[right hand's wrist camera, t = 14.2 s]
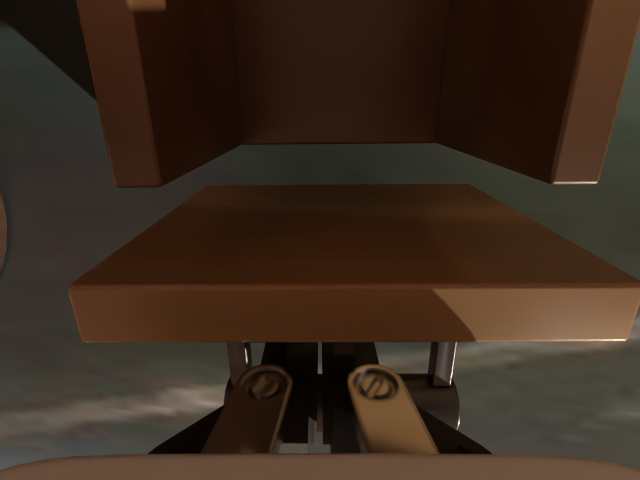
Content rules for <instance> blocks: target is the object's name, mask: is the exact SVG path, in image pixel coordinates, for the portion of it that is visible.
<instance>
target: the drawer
mask: <svg viewBox="0 0 640 480" xmlns="http://www.w3.org/2000/svg"><path fill="white" fill-rule="evenodd" d="M76 3H77V8H78V12H79V17H80V22H81V27H82V32H83V36H84V41H85V46H86V51H87V55H88V60H89V65H90V70H91V74H92V79H93V84H94V89H95V94H96V98H97V103H98V108H99V113H100V117H101V122H102V127H103V132H104V137H105V141H106V146H107V151H108V156H109V160H110V165H111V170H112V175H113V180H114V184H115V185H116V186H117V187H120V188H144V187H161V186H163V185H165V184H167V183H169V182H171V181H173V180H174V179H176V178H178V177H180V176H182V175H184V174H186V173H188V172H190V171H192V170H194V169H196V168H198V167H200V166H201V165H203V164H205V163H207V162H209V161H211V160H213V159H215V158H217V157H219V156H221V155H223V154H225V153H227V152H228V151H230V150H232V149H234V148H236V147H238V146H240V145H265V144H378V143H438V144H441V145H444V146H446V147H449V148H452V149H455V150H457V151H460V152H463V153H466V154H469V155H471V156H474V157H477V158H480V159H482V160H485V161H488V162H491V163H493V164H496V165H499V166H502V167H505V168H507V169H510V170H513V171H516V172H518V173H521V174H524V175H527V176H529V177H532V178H535V179H538V180H541V181H543V182H546V183H549V184H552V185H566V184H596V183H598V181H599V179H600V175H601V171H602V167H603V163H604V160H605V156H606V152H607V148H608V144H609V140H610V137H611V133H612V129H613V125H614V121H615V117H616V114H617V110H618V106H619V102H620V98H621V94H622V91H623V87H624V83H625V79H626V75H627V71H628V68H629V64H630V60H631V56H632V52H633V48H634V45H635V41H636V37H637V33H638V29H639V25H640V0H76ZM68 294H69V297H70V301H71V304H72V308H73V311H74V315H75V318H76V322H77V325H78V329H79V332H80V336H81V339H82V341H83V342H86V343H174V342H227V349H228V357H229V366H230V374H231V376H230V378H229V380H228V383H227V386H226V391H225V397H224V405H225V404H226V402H227V400H228V398H229V396H230V394H231V392H232V390H233V388H234V386H235V384H236V382H237V380H238V379H239V377H240V376H241V375H242V374H243V373H244V372H245V371H247V370H248V369H250V368H252V359H251V349H250V342H431V351H430V359H429V368H428V374H398V375H399V376H400V377H401V379H402V380H403V382H404V384H405V386H406V388H407V390H408V392H409V394H410V396H411V398H412V400H413V402H414V404H415V405H417V406H419V407H420V408H422V409H423V410H425V411H427V412H428V413H430V414H431V415H433V416H435V417H436V418H438V419H439V420H441V421H443V422H444V423H446V424H447V425H449V426H451V427H452V428H454V429H456V430H457V429H458V426H459V422H460V404H459V397H458V393H457V389H456V386H455V383H454V381H453V379H452V372H453V365H454V358H455V352H456V345H457V342H592V341H626V340H627V339H628V338H629V335H630V332H631V329H632V326H633V323H634V320H635V317H636V314H637V311H638V308H639V306H640V280H638V279H636V278H634V277H633V276H631V275H629V274H627V273H625V272H624V271H622V270H620V269H618V268H617V267H615V266H613V265H611V264H609V263H608V262H606V261H604V260H602V259H601V258H599V257H597V256H595V255H594V254H592V253H590V252H588V251H586V250H585V249H583V248H581V247H579V246H578V245H576V244H574V243H572V242H570V241H569V240H567V239H565V238H563V237H562V236H560V235H558V234H556V233H555V232H553V231H551V230H549V229H547V228H546V227H544V226H542V225H540V224H539V223H537V222H535V221H533V220H532V219H530V218H528V217H526V216H524V215H523V214H521V213H519V212H517V211H516V210H514V209H512V208H510V207H508V206H507V205H505V204H503V203H501V202H500V201H498V200H496V199H494V198H493V197H491V196H489V195H487V194H485V193H484V192H482V191H480V190H478V189H477V188H475V187H473V186H471V185H469V184H384V185H252V186H206V187H205V188H204V189H202V190H201V191H199V192H198V193H197V194H195V195H194V196H192V197H191V198H190V199H188V200H187V201H185V202H184V203H183V204H181V205H180V206H179V207H177V208H176V209H174V210H173V211H172V212H170V213H169V214H167V215H166V216H165V217H163V218H162V219H160V220H159V221H158V222H156V223H155V224H153V225H152V226H151V227H149V228H148V229H147V230H145V231H144V232H142V233H141V234H140V235H138V236H137V237H135V238H134V239H133V240H131V241H130V242H128V243H127V244H126V245H124V246H123V247H121V248H120V249H119V250H117V251H116V252H115V253H113V254H112V255H110V256H109V257H108V258H106V259H105V260H103V261H102V262H101V263H99V264H98V265H96V266H95V267H94V268H92V269H91V270H90V271H88V272H87V273H85V274H84V275H83V276H81V277H80V278H78V279H77V280H76V281H74V282H73V283H71V284H70V285H69V286H68ZM317 431H323V391H322V374H318V380H317Z"/></svg>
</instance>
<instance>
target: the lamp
mask: <svg viewBox="0 0 640 480" xmlns="http://www.w3.org/2000/svg"><path fill="white" fill-rule="evenodd" d="M6 248H7V219H6V214H5V209H4V204H3V198H2V195H1V194H0V272H1V269H2V267H3V263H4V258H5V253H6Z"/></svg>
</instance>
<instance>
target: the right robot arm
mask: <svg viewBox="0 0 640 480" xmlns="http://www.w3.org/2000/svg"><path fill="white" fill-rule="evenodd" d="M317 380H318V342H266V344H265V348H264V353H263V357H262V362H261V365H258V366H255V367H252V368H250V369H248V370H247V371H245V372H244V373H243V374H242V375H241V376H240V377H239V379H238V380H237V382H236V384H235V386H234V388H233V390H232V392H231V394H230V396H229V398H228V400H227V402H226V404H225V405H223V406H221V407H220V408H218V409H217V410H215V411H213V412H212V413H210V414H209V415H207V416H205V417H204V418H202V419H200V420H199V421H197V422H196V423H194V424H192V425H191V426H189V427H188V428H186V429H184V430H183V431H181V432H180V433H178V434H176V435H175V436H173V437H172V438H170V439H168V440H167V441H165V442H164V443H162V444H160V445H159V446H157V447H156V448H155V449H153V450H152V451H151V452H149V453H148V454H118V455H94V456H71V457H62V458H54V459H45V460H40V461H35V462H30V463H26V464H21V465H16V466H13V467H9V468H6V469H3V470H0V480H640V470H637V469H634V468H631V467H627V466H624V465H619V464H614V463H610V462H605V461H600V460H595V459H586V458H578V457H569V456H545V455H522V454H492V453H491V452H489V451H488V450H487V449H485V448H484V447H483V446H481V445H480V444H478V443H476V442H475V441H473V440H472V439H470V438H468V437H467V436H465V435H464V434H462V433H460V432H459V431H457V430H456V429H454V428H452V427H451V426H449V425H447V424H446V423H444V422H443V421H441V420H439V419H438V418H436V417H435V416H433V415H431V414H430V413H428V412H427V411H425V410H423V409H422V408H420V407H419V406H417V405H415V404H414V402H413V400H412V398H411V396H410V394H409V392H408V390H407V388H406V386H405V384H404V382H403V380H402V379H401V377H400V376H399V375H398V374H397V373H396V372H395V371H393V370H392V369H390V368H388V367H385V366H382V365H379V362H378V358H377V353H376V349H375V344H374V342H322V391H323V444H330V446H331V453H309V444H317Z"/></svg>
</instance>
